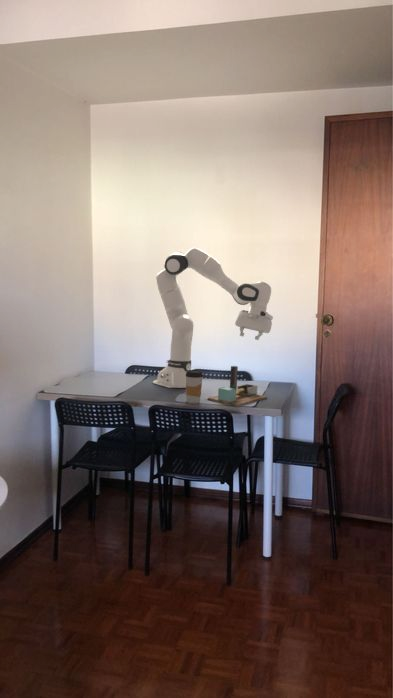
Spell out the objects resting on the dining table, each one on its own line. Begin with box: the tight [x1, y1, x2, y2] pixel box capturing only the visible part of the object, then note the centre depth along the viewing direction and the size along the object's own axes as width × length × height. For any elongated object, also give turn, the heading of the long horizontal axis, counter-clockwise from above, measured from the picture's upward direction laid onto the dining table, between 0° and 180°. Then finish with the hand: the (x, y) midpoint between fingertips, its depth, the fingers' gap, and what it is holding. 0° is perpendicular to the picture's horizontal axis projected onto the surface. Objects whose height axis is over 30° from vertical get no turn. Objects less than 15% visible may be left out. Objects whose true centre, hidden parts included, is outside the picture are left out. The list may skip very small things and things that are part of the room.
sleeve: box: [237, 383, 258, 397], centre depth 298 cm, size 6×9×4 cm
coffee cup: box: [185, 369, 204, 404], centre depth 281 cm, size 8×8×15 cm
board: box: [207, 394, 267, 407], centre depth 292 cm, size 18×26×1 cm
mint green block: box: [217, 386, 236, 402], centre depth 284 cm, size 7×5×6 cm
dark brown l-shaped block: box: [229, 365, 245, 396], centre depth 289 cm, size 3×14×15 cm, turn 142°
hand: (249, 337), depth 306 cm, fingers open, 8 cm apart
